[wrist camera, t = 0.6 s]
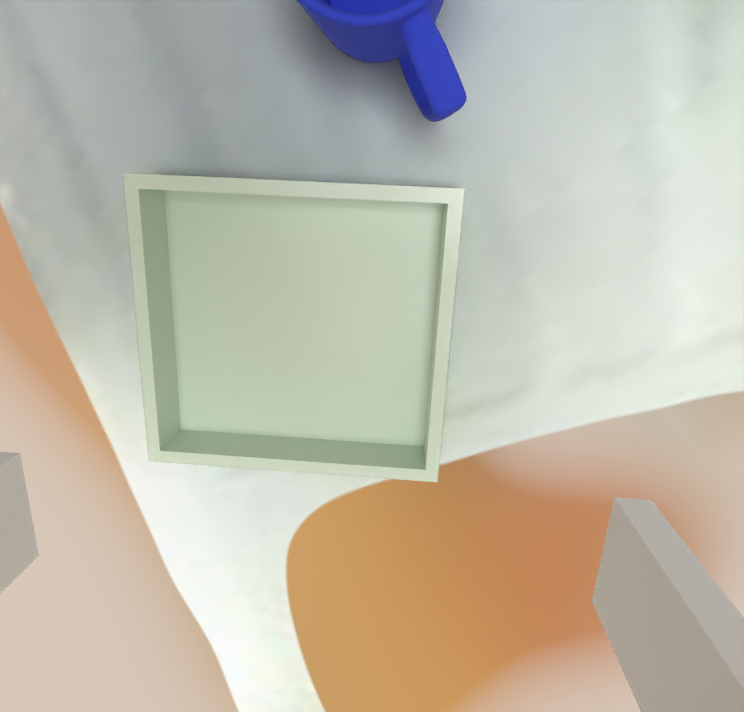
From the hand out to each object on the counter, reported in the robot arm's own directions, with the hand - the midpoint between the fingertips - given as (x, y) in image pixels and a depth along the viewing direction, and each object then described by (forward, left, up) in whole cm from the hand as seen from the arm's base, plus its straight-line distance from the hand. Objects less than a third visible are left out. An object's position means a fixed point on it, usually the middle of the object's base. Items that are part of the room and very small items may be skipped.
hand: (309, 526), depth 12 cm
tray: (+1, -4, -23) cm, 24 cm away
